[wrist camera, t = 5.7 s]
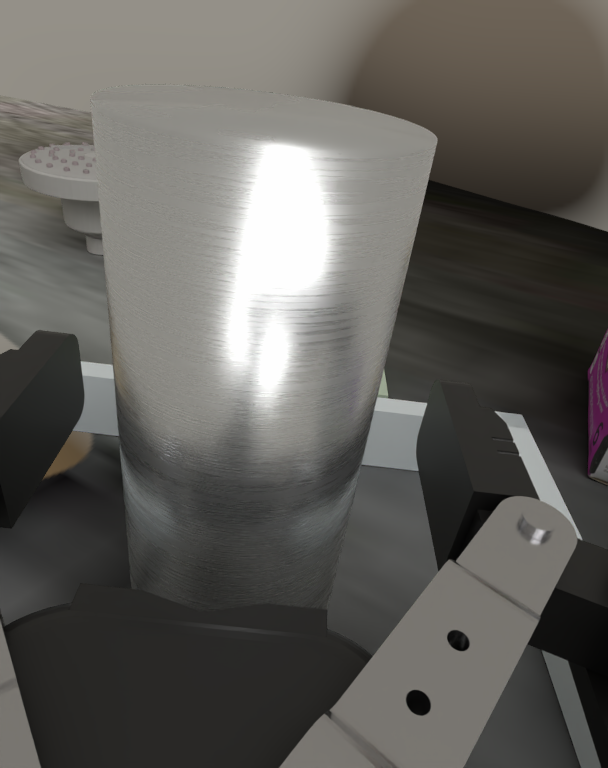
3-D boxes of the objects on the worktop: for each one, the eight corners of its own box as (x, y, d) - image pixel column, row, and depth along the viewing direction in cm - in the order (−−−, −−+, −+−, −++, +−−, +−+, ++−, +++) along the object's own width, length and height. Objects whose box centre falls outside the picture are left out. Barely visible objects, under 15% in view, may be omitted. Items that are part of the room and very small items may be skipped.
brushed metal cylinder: (310, 612, 18) (414, 112, 10) (305, 779, 14) (471, 174, 6) (164, 596, 18) (147, 75, 10) (117, 761, 14) (22, 113, 6)
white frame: (500, 466, 26) (521, 414, 24) (866, 1427, 8) (1038, 1478, 7) (20, 409, 25) (9, 352, 23) (-709, 1330, 7) (-962, 1362, 6)
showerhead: (25, 166, 32) (9, 128, 39) (42, 284, 35) (26, 231, 43) (186, 166, 36) (146, 133, 43) (186, 272, 40) (149, 225, 47)
